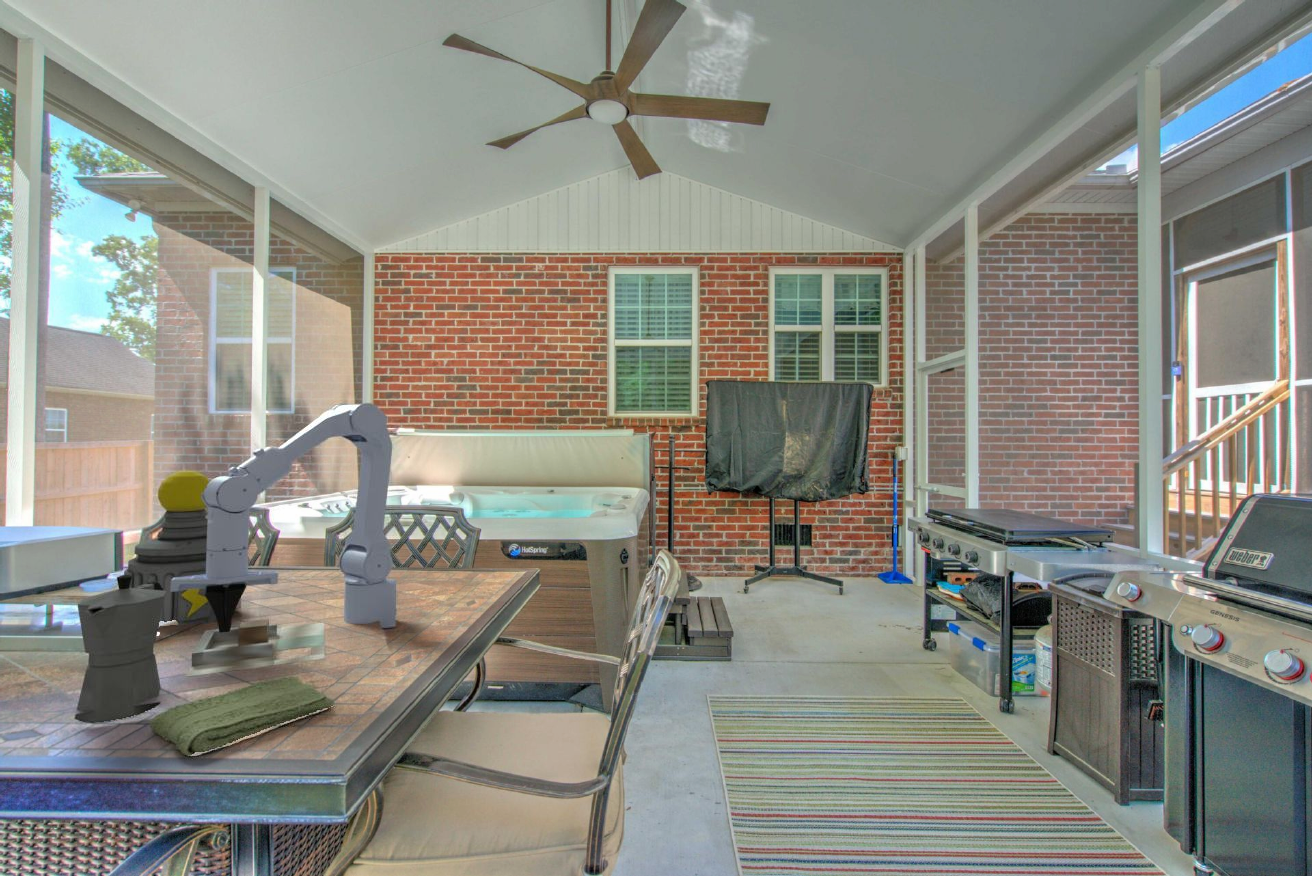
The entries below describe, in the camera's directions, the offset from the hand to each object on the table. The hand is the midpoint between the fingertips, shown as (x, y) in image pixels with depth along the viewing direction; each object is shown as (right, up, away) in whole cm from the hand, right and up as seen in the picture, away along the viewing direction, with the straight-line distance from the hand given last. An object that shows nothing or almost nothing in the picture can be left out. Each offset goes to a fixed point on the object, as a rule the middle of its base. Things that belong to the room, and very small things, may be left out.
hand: (224, 630), depth 102 cm
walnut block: (+3, -3, +2) cm, 5 cm away
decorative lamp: (-24, -5, +22) cm, 33 cm away
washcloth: (+18, -6, -21) cm, 28 cm away
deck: (+5, -5, +3) cm, 7 cm away
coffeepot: (-1, -5, -18) cm, 18 cm away
